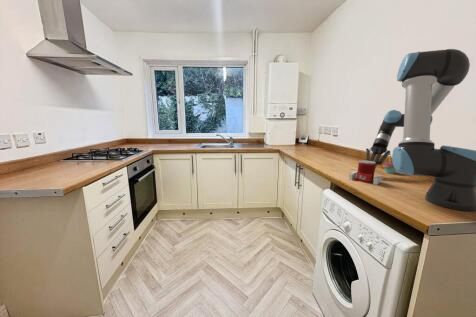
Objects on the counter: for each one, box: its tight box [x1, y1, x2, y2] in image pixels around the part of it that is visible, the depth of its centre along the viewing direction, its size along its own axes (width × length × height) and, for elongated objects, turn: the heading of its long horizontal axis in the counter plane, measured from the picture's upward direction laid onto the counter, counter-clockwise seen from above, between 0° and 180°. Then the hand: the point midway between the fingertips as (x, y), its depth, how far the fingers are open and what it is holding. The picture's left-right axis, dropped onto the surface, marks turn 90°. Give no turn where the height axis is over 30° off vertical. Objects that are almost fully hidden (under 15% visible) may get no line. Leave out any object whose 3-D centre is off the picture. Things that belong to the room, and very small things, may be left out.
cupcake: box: [382, 154, 397, 174], centre depth 132 cm, size 9×8×12 cm
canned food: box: [356, 159, 377, 183], centre depth 113 cm, size 8×8×11 cm
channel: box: [349, 170, 383, 186], centre depth 114 cm, size 9×13×4 cm
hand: (369, 172), depth 119 cm, fingers closed
